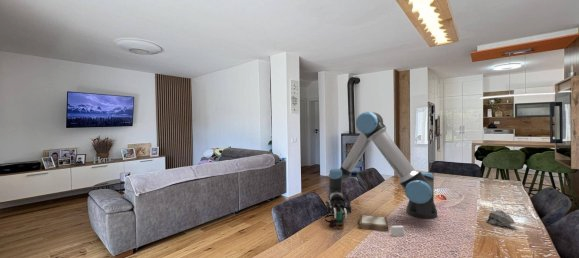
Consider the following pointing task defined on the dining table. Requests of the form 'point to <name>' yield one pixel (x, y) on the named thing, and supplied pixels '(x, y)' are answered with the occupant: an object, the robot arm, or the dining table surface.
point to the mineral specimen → (500, 218)
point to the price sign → (397, 230)
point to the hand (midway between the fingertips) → (340, 215)
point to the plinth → (373, 223)
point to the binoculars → (338, 218)
